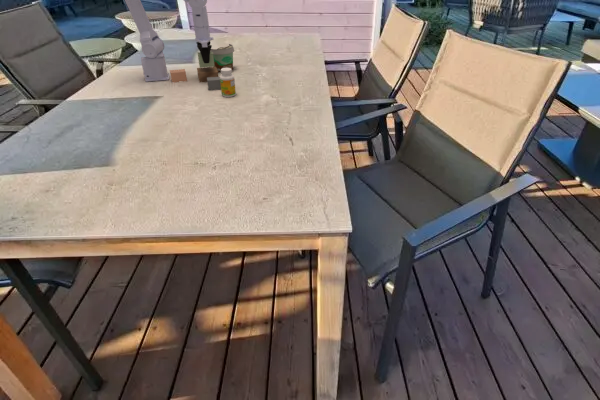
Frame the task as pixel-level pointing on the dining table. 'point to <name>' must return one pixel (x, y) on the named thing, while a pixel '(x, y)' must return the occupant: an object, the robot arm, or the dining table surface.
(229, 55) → the food container
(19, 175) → the dining table surface
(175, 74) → the terracotta brick
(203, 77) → the walnut block
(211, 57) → the sage brick
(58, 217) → the dining table surface
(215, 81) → the charcoal brick
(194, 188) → the dining table surface
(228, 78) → the supplement bottle
